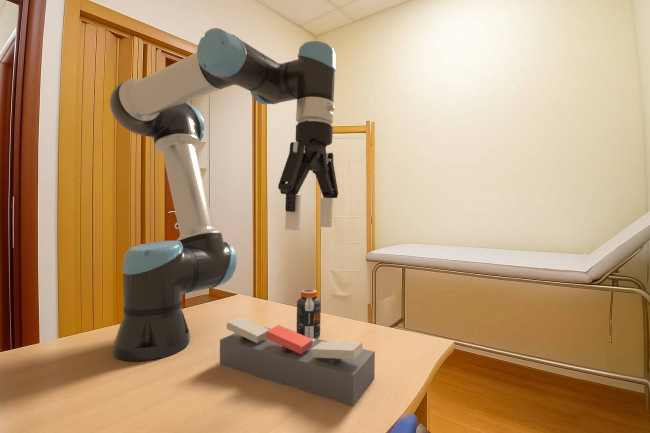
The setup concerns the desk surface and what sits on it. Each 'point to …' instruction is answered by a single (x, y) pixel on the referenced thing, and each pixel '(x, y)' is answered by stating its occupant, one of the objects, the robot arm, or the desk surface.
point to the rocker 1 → (247, 329)
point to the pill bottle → (308, 314)
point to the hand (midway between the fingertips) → (310, 228)
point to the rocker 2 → (337, 350)
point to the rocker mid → (289, 339)
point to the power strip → (301, 367)
